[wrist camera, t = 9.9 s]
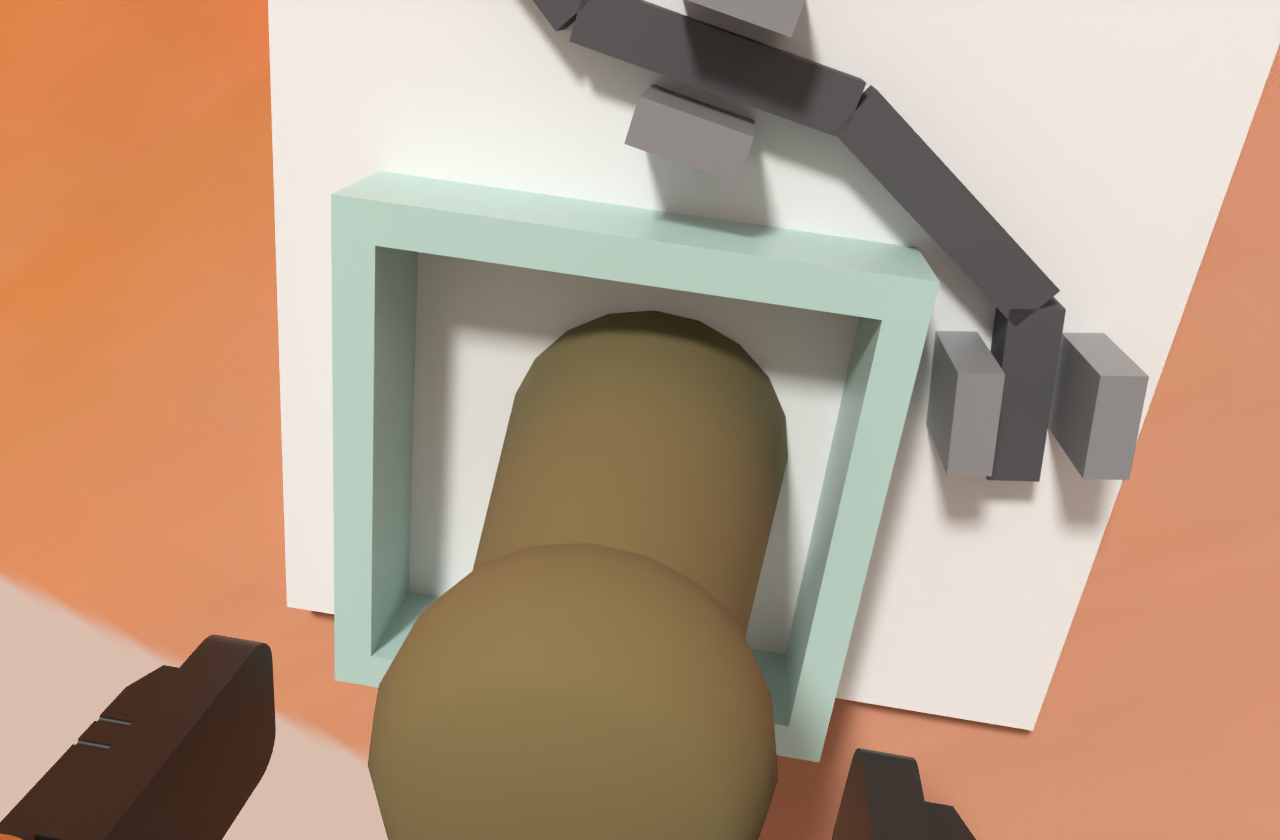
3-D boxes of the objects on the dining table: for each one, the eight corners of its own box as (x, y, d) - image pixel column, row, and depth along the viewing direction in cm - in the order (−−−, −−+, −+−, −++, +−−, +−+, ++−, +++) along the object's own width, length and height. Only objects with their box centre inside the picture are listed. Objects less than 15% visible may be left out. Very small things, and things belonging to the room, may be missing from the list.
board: (1345, -209, 16) (1476, -255, 13) (1024, 708, 24) (1062, 808, 21) (279, -334, 17) (179, -403, 14) (301, 588, 25) (240, 668, 22)
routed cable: (1137, 378, 20) (1156, 397, 19) (998, 480, 21) (1009, 503, 20) (514, -321, 16) (499, -340, 15) (389, -151, 17) (369, -159, 16)
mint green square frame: (917, 247, 19) (939, 282, 17) (813, 686, 23) (819, 762, 21) (380, 171, 19) (331, 194, 17) (375, 614, 24) (334, 680, 22)
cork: (666, 612, 23) (597, 1096, 13) (455, 456, 22) (201, 848, 12) (849, 433, 21) (938, 850, 11) (623, 249, 20) (485, 518, 10)
